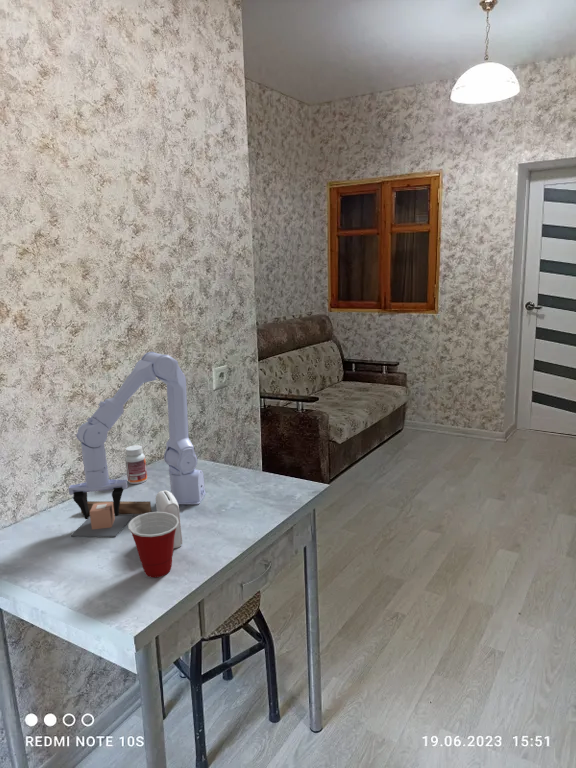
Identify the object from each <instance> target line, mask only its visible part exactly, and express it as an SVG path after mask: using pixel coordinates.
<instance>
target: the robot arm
mask: <svg viewBox="0 0 576 768" xmlns="http://www.w3.org/2000/svg"><path fill="white" fill-rule="evenodd" d="M157 379H159V380H160V381H161V382H162V383H163V384H165V385H166V395H167V396H166V397H167V413H168V415H167V416H168V433H169V439H167V441H166V443H165V451H164V453H163V459H164V460H163V461H164V463H166V465H168V473H169V474H168V475H169V484H170V493H172V494H173V496H174V497H175V499H176V500H177V503H178V505H199V504H200V503H201V502H202V500H203V499H204V497H205V496H206V494H207V492H206V488H205V475H204V472H203V470H200V469H196V468H197V466H198V457H197V455H196V452H195V447H194V445H193V443H192V441H191V439H190V437H189V419H188V414H189V413H188V396H187V395H188V394H187V378H186V375H185V373H184V372H183V371H182V369H181V367H180V366H179V362H178V360H177V359H175V358H173V356H171V355H170V354H162V353H157V352H154V351H149V352H145V353H144V354H143V356H141V358H140V359H139V360H138V361H137V362H136V363H135V366H134V367H133V369H132V371H131V372H130V373H129V375H128V376H127V377H126V379H125V380H124V382H123V383H122V384H121V386H120V387H119V389H118V391H116V393H114V395H113V397H110V398H105V399H104V401H102V400H101V401H100V402H99V403H98V408H97V409H96V410H95V412H94V413H93V414H92V415H91V417H88V418H87V419H86V422H83V423H82V424H80V426H79V427H78V429H77V432H76V439H77V440H78V441H79V442H80V447H81V456H82V463H83V471H84V476H85V477H84V478H85V482H81V483H77V484H70V485H69V486H68V488H67V489H68V495H70V496H71V495H73V498H72V499H73V501H74V502H75V503H76V505H77V506H78V508H79V509H80V511H82V513H83V517H84V519H85V520H87V519H88V518H89V517H90V514H89V508H88V502H87V501H88V493H90V492H101V491H102V492H103V491H108V490H109V491H110V490H111V491H112V493H111V497H112V501H113V502H114V511H115V516H118V515H119V505H120V501H121V500H122V494H123V492H124V490H127V489H128V486H129V485H128V484H129V483H128V479H110V475H109V469H108V461H107V453H106V447H105V443H106V441H107V439H108V432H109V431H110V430H111V429H112V428H113V426H115V424H116V423H117V421H119V419H120V418H121V417H122V415H123V414H124V411H125V410H124V406H125V404H126V403H127V402H128V401H129V400H130V398H131V397H132V396H133V395H135V394H136V392H137V391H138V390H139V388H141V386H143V384H144V383H149V382H154V381H157Z"/></svg>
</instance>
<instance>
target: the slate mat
mask: <svg viewBox="0 0 576 768" xmlns="http://www.w3.org/2000/svg"><path fill="white" fill-rule="evenodd" d="M114 516H115V514H114ZM134 516H135V514H119V515H118V516H115V520H114V523H113V525H112V527H110V528H101V529H92V526H91V519H90V516H89V518H88V519H85V521H84V522H83V523H82V524H81V525H80V526H79V527H77V529H76V530H75V531H73V532H72V533H71V534H70V537H71V538H72V537H73V538H75V537H76V538H78V537H80V538H81V537H83V538H89V537H90V538H116V537H117V536H118V535H119V534H120V532H121V531H122V530H124V528H125V527H126V526H127V525H128V524H129V522H130V521H131V520H132V519H133V518H134Z"/></svg>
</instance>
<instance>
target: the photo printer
mask: <svg viewBox="0 0 576 768" xmlns="http://www.w3.org/2000/svg"><path fill="white" fill-rule="evenodd" d="M155 505H156V512H167V513H170V514H173V515H175V516H176V517H177V518H178V520H179V524H178V526H177V527H176V531H175V536H174V547H173V549H177V548H180V547H181V546H182V545H183V533H182V524H181V515H180V508H179V507H180V506H179V505H180V504H178V503H177V500H176V499H175V497H174V496H173V494H172V493H171V491H169V490H166V489H165V490H160V491H159V492H157V493H156V495H155Z"/></svg>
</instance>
